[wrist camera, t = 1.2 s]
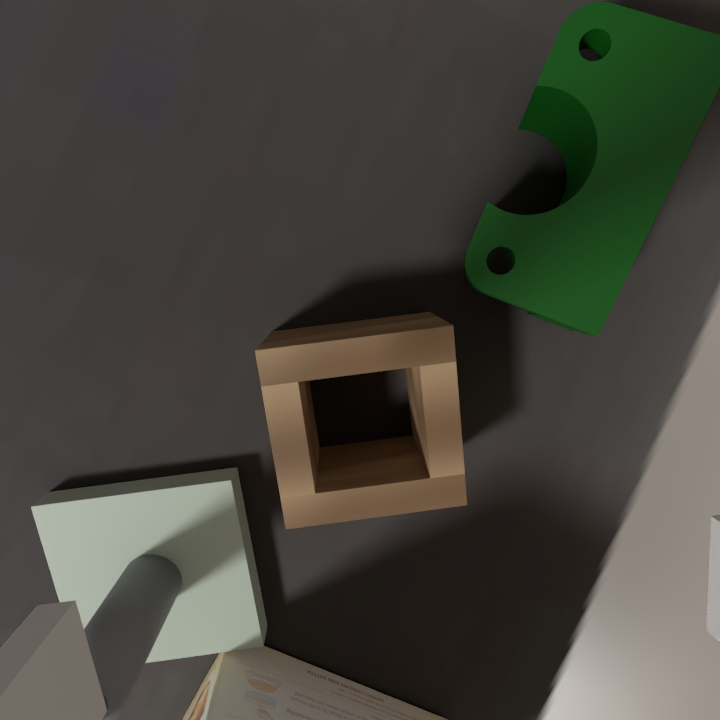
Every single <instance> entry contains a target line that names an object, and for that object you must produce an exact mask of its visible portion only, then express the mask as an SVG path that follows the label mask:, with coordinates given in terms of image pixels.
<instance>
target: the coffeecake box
mask: <svg viewBox="0 0 720 720" xmlns="http://www.w3.org/2000/svg"><path fill="white" fill-rule="evenodd" d="M183 720H447V719H446V718H443V717H441V716H438V715H435V714H433V713H430V712H428V711H425V710H423V709H420V708H418V707H415V706H413V705H410V704H408V703H406V702H403V701H401V700H398V699H396V698H393V697H390V696H388V695H385V694H383V693H380V692H378V691H376V690H373V689H371V688H368V687H366V686H363V685H361V684H358V683H356V682H353V681H351V680H348V679H346V678H343V677H341V676H338V675H336V674H333V673H331V672H328V671H326V670H324V669H321V668H319V667H316V666H313V665H311V664H309V663H306V662H304V661H301V660H299V659H296V658H293V657H291V656H288V655H286V654H283V653H281V652H279V651H276V650H274V649H271V648H268V647H266V646H264V647H257V648H250V649H242V650H235V651H228V652H221V653H219V655H218V657H217V658H216V660H215V662H214V663H213V665H212V667H211V669H210V670H209V672H208V674H207V676H206V677H205V679H204V681H203V683H202V685H201V687H200V688H199V690H198V692H197V694H196V696H195V697H194V699H193V701H192V703H191V705H190V707H189V708H188V710H187V712H186V714H185V715H184V718H183Z"/></svg>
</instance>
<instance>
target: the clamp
mask: <svg viewBox="0 0 720 720" xmlns="http://www.w3.org/2000/svg"><path fill="white" fill-rule="evenodd" d="M581 49H591V50H593V51H595V52H596V54H597V55H598V57H599V60H597V61H588V60H586V59H584V58H583V57H582V56H581V55H580V52H579V50H581ZM719 88H720V35H718V34H715V33H711V32H708V31H705V30H701V29H698V28H694V27H691V26H688V25H684V24H681V23H678V22H674V21H671V20H668V19H664V18H661V17H657V16H654V15H651V14H647V13H644V12H641V11H637V10H634V9H630V8H627V7H624V6H620V5H617V4H614V3H609V2H595V3H591V4H588V5H585V6H583V7H581V8H579V9H578V10H576V11H575V12H574V13H572V14H571V15H570V16H569V17H568V18H567V19H566V21H565V22H564V23H563V25H562V27H561V28H560V31H559V33H558V35H557V38H556V40H555V42H554V45H553V47H552V49H551V52H550V54H549V57H548V59H547V61H546V64H545V66H544V68H543V71H542V73H541V76H540V78H539V80H538V83H537V85H536V88H535V90H534V92H533V95H532V97H531V100H530V102H529V104H528V107H527V109H526V112H525V114H524V117H523V119H522V121H521V124H520V126H519V129H524V130H529V131H533V132H536V133H539V134H541V135H543V136H545V137H546V138H548V139H549V140H550V141H552V142H553V143H554V144H555V145H556V147H557V148H558V149H559V151H560V153H561V154H562V156H563V159H564V162H565V165H566V171H567V183H566V188H565V192H564V195H563V197H562V200H561V202H560V203H559V205H558V207H557V208H555V209H553V210H551V211H548V212H545V213H540V214H535V215H518V214H513V213H509V212H506V211H503V210H501V209H499V208H497V207H495V206H494V205H492V204H491V203H490V202H487V204H486V207H485V209H484V211H483V214H482V216H481V218H480V221H479V223H478V226H477V228H476V230H475V233H474V235H473V238H472V240H471V242H470V245H469V247H468V250H467V252H466V255H465V259H464V271H465V275H466V277H467V279H468V281H469V283H470V284H471V285H472V286H473V287H474V288H475V289H476V290H477V291H479V292H481V293H483V294H485V295H488V296H490V297H493V298H495V299H498V300H501V301H503V302H506V303H508V304H511V305H513V306H516V307H519V308H521V309H524V310H526V311H527V313H528V314H530V315H533V316H535V317H538V318H540V319H543V320H545V321H548V322H551V323H553V324H556V325H558V326H561V327H563V328H566V329H569V330H572V331H576V332H580V333H585V334H589V335H593V336H598V334H599V332H600V330H601V328H602V326H603V324H604V322H605V320H606V318H607V316H608V314H609V312H610V310H611V308H612V306H613V304H614V302H615V300H616V298H617V296H618V294H619V292H620V290H621V288H622V286H623V283H624V281H625V279H626V277H627V275H628V273H629V271H630V269H631V267H632V265H633V263H634V261H635V259H636V257H637V255H638V253H639V251H640V249H641V247H642V245H643V243H644V241H645V239H646V237H647V235H648V233H649V230H650V228H651V226H652V224H653V222H654V220H655V218H656V216H657V214H658V212H659V210H660V208H661V206H662V204H663V202H664V200H665V198H666V196H667V194H668V192H669V190H670V188H671V186H672V184H673V182H674V180H675V177H676V175H677V173H678V171H679V169H680V167H681V165H682V163H683V161H684V159H685V157H686V155H687V153H688V151H689V149H690V147H691V145H692V143H693V141H694V139H695V137H696V135H697V133H698V131H699V129H700V127H701V124H702V122H703V120H704V118H705V116H706V114H707V112H708V110H709V108H710V106H711V104H712V102H713V100H714V98H715V96H716V94H717V92H718V90H719ZM495 250H501V251H504V252H505V253H507V254H508V256H509V257H510V260H511V265H510V268H509V270H508V272H507V273H505V274H503V275H497V274H494V273H492V272H491V271H490V270H489V269H488V267H487V263H486V260H487V256H488V254H489V253H490V252H492V251H495Z"/></svg>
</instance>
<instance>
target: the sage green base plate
mask: <svg viewBox="0 0 720 720" xmlns="http://www.w3.org/2000/svg"><path fill="white" fill-rule="evenodd" d="M31 509H32V512H33V516H34V519H35V522H36V526H37V529H38V532H39V536H40V539H41V542H42V545H43V549H44V552H45V555H46V559H47V562H48V565H49V569H50V572H51V575H52V579H53V582H54V585H55V589H56V592H57V595H58V598H59V602H67V601H75V600H76V604H77V607H78V611H79V614H80V618H81V621H82V625H83V628H84V632H85V635H86V639H87V642H88V646H89V649H90V652H91V656H92V659H93V663H94V666H95V670H96V673H97V677H98V680H99V684H100V687H101V691H102V694H103V698H104V701H105V705H106V708H107V712H106V714H105V716H104V718H103V720H118V719H119V717H120V715H121V713H122V711H123V709H124V707H125V704H126V702H127V700H128V698H129V696H130V694H131V692H132V690H133V688H134V686H135V683H136V681H137V679H138V677H139V675H140V673H141V671H142V669H143V667H144V665H145V663H149V662H156V661H163V660H171V659H178V658H185V657H192V656H199V655H207V654H214V653H221V652H228V651H235V650H242V649H250V648H257V647H264V641H265V636H266V631H267V626H268V625H267V620H266V615H265V610H264V604H263V599H262V594H261V589H260V584H259V578H258V573H257V568H256V563H255V558H254V552H253V547H252V542H251V537H250V531H249V526H248V521H247V516H246V511H245V505H244V500H243V495H242V490H241V484H240V479H239V474H238V469H237V467H235V468H227V469H220V470H212V471H205V472H197V473H189V474H182V475H174V476H167V477H159V478H151V479H144V480H136V481H128V482H121V483H113V484H106V485H98V486H90V487H83V488H75V489H68V490H60V491H52V492H48V493H47V494H46V495H45V496H43V497H42V498H41V499H40V500H38V501H37V502H36V503H35V504H33V505H32V506H31Z"/></svg>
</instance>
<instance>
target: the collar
mask: <svg viewBox="0 0 720 720" xmlns="http://www.w3.org/2000/svg"><path fill="white" fill-rule="evenodd" d="M255 354H256V360H257V365H258V371H259V377H260V383H261V389H262V394H263V400H264V406H265V412H266V418H267V423H268V429H269V435H270V441H271V447H272V452H273V458H274V464H275V470H276V476H277V481H278V487H279V493H280V499H281V505H282V510H283V516H284V522H285V528H286V529H293V528H300V527H308V526H315V525H323V524H330V523H338V522H345V521H353V520H360V519H367V518H375V517H382V516H390V515H397V514H405V513H412V512H420V511H427V510H434V509H442V508H449V507H457V506H464V505H467V496H466V483H465V470H464V457H463V444H462V431H461V418H460V405H459V392H458V379H457V366H456V353H455V340H454V326H453V325H452V324H450V323H448V322H447V321H445V320H443V319H441V318H440V317H438V316H436V315H434V314H433V313H431V312H423V313H415V314H407V315H399V316H391V317H383V318H375V319H367V320H359V321H351V322H343V323H335V324H327V325H319V326H311V327H303V328H295V329H287V330H279V331H272V332H271V333H270V334H269V336H268V337H267V338H266V339H265V340H264V341H263V342H262V343H261V344H260V346H259V347H258V348H257V349H256V350H255ZM403 368H406V378H407V388H408V398H409V408H410V417H411V427H412V435H411V436H404V437H396V438H389V439H381V440H373V441H366V442H358V443H350V444H343V445H335V446H327V447H319V440H318V433H317V426H316V420H315V413H314V406H313V400H312V393H311V386H310V380H317V379H325V378H333V377H340V376H348V375H356V374H364V373H372V372H379V371H387V370H395V369H403Z"/></svg>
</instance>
